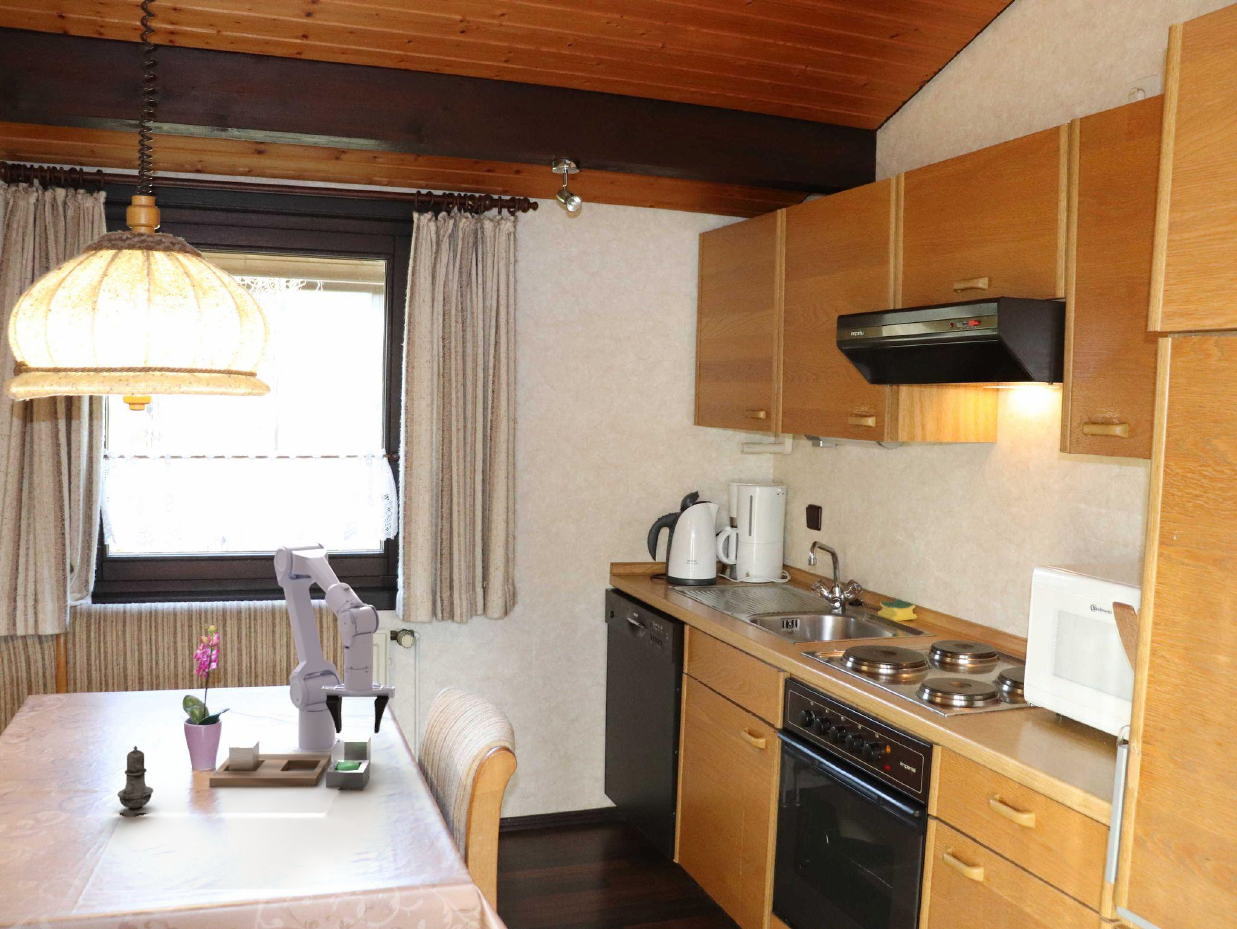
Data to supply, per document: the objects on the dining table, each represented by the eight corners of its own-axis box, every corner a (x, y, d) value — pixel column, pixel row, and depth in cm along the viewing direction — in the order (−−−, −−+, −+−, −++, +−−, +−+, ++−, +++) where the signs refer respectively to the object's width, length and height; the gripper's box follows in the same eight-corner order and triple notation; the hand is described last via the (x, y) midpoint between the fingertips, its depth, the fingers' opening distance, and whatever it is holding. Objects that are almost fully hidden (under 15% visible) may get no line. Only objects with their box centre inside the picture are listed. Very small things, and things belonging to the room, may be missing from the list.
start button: (339, 775, 208) (339, 761, 208) (360, 775, 208) (360, 761, 208) (335, 782, 204) (335, 767, 204) (356, 782, 204) (356, 768, 204)
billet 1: (235, 769, 211) (236, 740, 210) (258, 769, 211) (259, 740, 211) (229, 777, 206) (229, 747, 206) (252, 777, 206) (252, 747, 206)
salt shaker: (139, 819, 186) (139, 752, 186) (110, 815, 187) (110, 749, 187) (160, 807, 192) (160, 742, 191) (131, 804, 193) (131, 739, 193)
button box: (333, 777, 209) (333, 760, 209) (369, 777, 210) (369, 760, 209) (325, 790, 202) (326, 772, 202) (362, 790, 203) (363, 772, 202)
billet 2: (348, 763, 218) (348, 734, 218) (370, 763, 218) (370, 734, 218) (344, 770, 213) (344, 741, 213) (366, 770, 214) (366, 741, 213)
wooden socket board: (231, 764, 215) (231, 753, 215) (331, 764, 216) (331, 754, 216) (209, 789, 201) (209, 777, 201) (315, 789, 203) (316, 778, 202)
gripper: (317, 670, 210) (317, 737, 211) (391, 671, 211) (390, 737, 212) (325, 662, 217) (325, 727, 218) (396, 662, 218) (396, 727, 219)
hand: (357, 731), depth 215 cm, fingers open, 7 cm apart
